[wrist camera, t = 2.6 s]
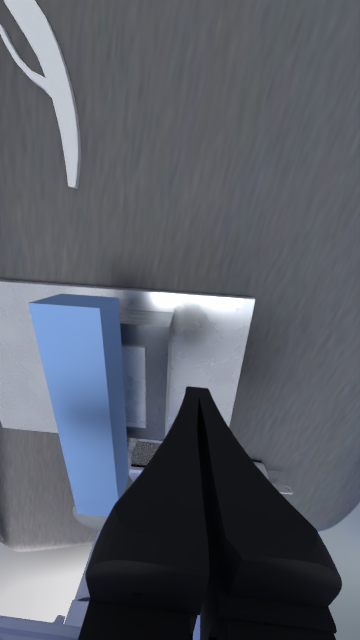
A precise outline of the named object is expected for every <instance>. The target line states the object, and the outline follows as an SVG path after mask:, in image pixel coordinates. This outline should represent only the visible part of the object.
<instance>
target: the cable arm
mask: <svg viewBox="0 0 360 640" xmlns="http://www.w3.org/2000/svg"><path fill="white" fill-rule="evenodd" d="M28 305H29V310H30V314H31V318H32V322H33V327H34V331H35V335H36V339H37V344H38V348H39V352H40V357H41V361H42V365H43V369H44V374H45V378H46V382H47V386H48V391H49V395H50V399H51V404H52V408H53V412H54V416H55V421H56V425H57V429H58V433H59V438H60V442H61V446H62V451H63V455H64V459H65V463H66V468H67V472H68V476H69V480H70V485H71V489H72V493H73V498H74V502H75V505H74V507H73V514H74V516H75V518H76V519H77V520H78V521H79V522H80V523H82V524H83V525H85V526H87V527H90V528H93V529H97V530H101V529H102V527H103V525H104V523H105V521H106V519H107V517H108V516H109V514H110V512H111V510H112V508H113V506H114V505H115V503H116V502H117V501H118V500H119V499H120V497H121V496H122V495H123V494H124V493H125V492H126V490H127V489H128V488H129V487H130V486H131V485H132V483H133V481H132V479H131V477H130V476H129V468H128V451H127V434H126V417H125V399H124V382H123V365H122V348H121V330H120V313H119V298H117V297H103V296H89V295H75V294H58V295H54V296H51V297H47V298H44V299H40V300H37V301H33V302H29V303H28Z"/></svg>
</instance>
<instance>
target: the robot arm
mask: <svg viewBox="0 0 360 640" xmlns="http://www.w3.org/2000/svg"><path fill="white" fill-rule="evenodd" d="M129 476H130V477H131V479H132V481H133V483H132V485H131V486H130V487H129V488H128V489H127V490H126V492H125V493H124V494H123V495H122V496H121V497H120V499H119V500H118V501H117V502H116V503H115V505H114V506H113V508H112V510H111V512H110V514H109V516H108V517H107V519H106V521H105V523H104V525H103V527H102V529H101V530H98V532H97V535H96V538H95V541H94V544H93V547H92V550H91V552H90V555H89V559H88V561H87V564H86V567H85V570H84V573H83V576H82V579H81V582H80V585H79V588H78V591H77V594H76V597H75V599H74V600H73V601H72V603H71V606H70V609H69V612H68V615H67V617H66V620H65V624H63V622H64V619H65V616H61V615H58V616H57V618H56V620H55V621H54V622H53V623H49V622H42V621H35V620H28V619H21V618H13V617H6V616H0V640H193V631H194V627H195V623H196V619H197V615H200V640H336V639H335V636H334V633H336V632H337V630H336V626H335V623H334V620H333V618H332V616H331V613H330V611H329V608H328V606H329V605H330V604H331V602H332V601H333V600H334V599H335V598H336V597H337V595H338V594H339V592H340V590H341V587H342V581H341V577H340V575H339V573H338V571H337V569H336V567H335V564H334V562H333V560H332V558H331V556H330V554H329V552H328V550H327V548H326V546H325V545H324V543H323V541H322V539H321V537H320V536H319V534H318V532H317V530H316V529H315V528H314V527H313V526H312V525H311V524H310V523H309V522H308V521H307V520H306V519H305V518H304V517H303V516H302V515H301V514H300V513H299V512H298V511H297V510H296V509H295V508H294V507H293V506H292V505H291V504H290V503H289V502H288V501H287V500H286V499H285V498H284V497H283V495H282V494H281V493H280V492H279V491H278V490H277V489H276V488H275V487H274V486H273V485H272V483H271V482H270V481H269V480H268V479H267V478H266V476H265V475H264V474H263V473H262V472H261V471H260V469H259V468H258V467H257V466H256V465H255V463H254V462H253V461H252V460H251V458H250V457H249V456H248V454H247V453H246V452H245V451H244V449H243V448H242V446H241V445H240V444H239V442H238V441H237V439H236V438H235V436H234V435H233V433H232V432H231V430H230V429H229V427H228V425H227V424H226V422H225V420H224V419H223V417H222V415H221V413H220V411H219V410H218V408H217V406H216V404H215V402H214V400H213V397H212V395H211V393H210V390H209V389H208V388H201V387H190V386H187V387H186V390H185V395H184V399H183V402H182V404H181V407H180V409H179V412H178V414H177V416H176V418H175V420H174V422H173V424H172V426H171V428H170V430H169V432H168V434H167V435H166V437H165V439H164V440H163V442H162V444H161V445H160V447H159V448H158V450H157V451H156V453H155V454H154V456H153V457H152V459H151V460H150V461H149V463H148V464H147V465H146V467H145V468H142V467H132V466H131V468H130V471H129Z"/></svg>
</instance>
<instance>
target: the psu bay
mask: <svg viewBox="0 0 360 640" xmlns="http://www.w3.org/2000/svg"><path fill="white" fill-rule="evenodd" d="M58 294H75V295H89V296H103V297H117V298H119V313H120V330H121V348H122V365H123V382H124V399H125V417H126V434H127V451H128V468H129V471H130V468H131V464H132V461H133V457H134V454H135V450H136V447H137V443H138V441H142V442H152V443H162V442H163V440H164V439H165V437H166V435H167V434H168V432H169V430H170V428H171V426H172V424H173V422H174V420H175V418H176V416H177V414H178V412H179V409H180V407H181V404H182V402H183V399H184V395H185V390H186V387H187V386H190V387H201V388H208V389H209V390H210V393H211V395H212V397H213V400H214V402H215V404H216V406H217V408H218V410H219V411H220V413H221V415H222V417H223V419H224V420H225V422H226V424H227V425H228V427H229V425H230V420H231V416H232V411H233V406H234V401H235V396H236V391H237V386H238V381H239V376H240V372H241V367H242V362H243V357H244V352H245V347H246V342H247V337H248V333H249V328H250V323H251V318H252V313H253V308H254V303H255V299H254V298H252V297H250V296H236V295H221V294H207V293H193V292H178V291H164V290H149V289H135V288H121V287H106V286H92V285H77V284H63V283H49V282H34V281H20V280H6V279H0V421H1V423H2V426H3V428H13V429H23V430H33V431H43V432H52V433H58V429H57V425H56V421H55V416H54V412H53V408H52V404H51V399H50V395H49V391H48V386H47V382H46V378H45V374H44V369H43V365H42V361H41V357H40V352H39V348H38V344H37V339H36V335H35V331H34V327H33V322H32V318H31V314H30V310H29V305H28V303H29V302H33V301H37V300H40V299H44V298H47V297H51V296H54V295H58Z"/></svg>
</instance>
